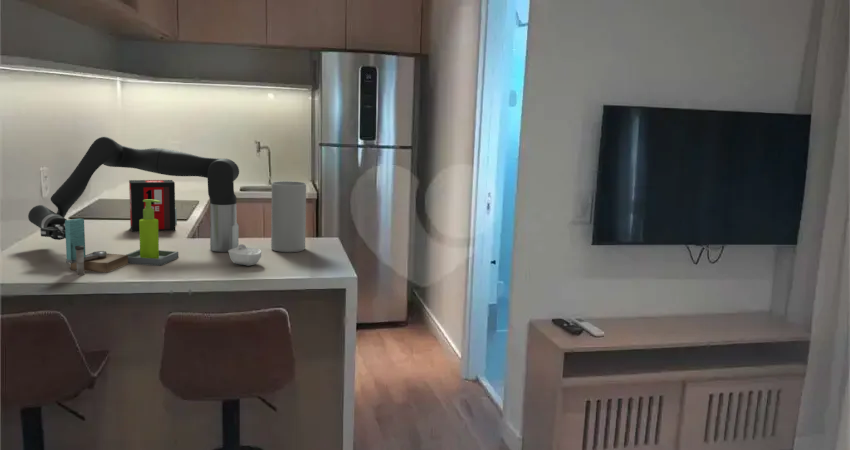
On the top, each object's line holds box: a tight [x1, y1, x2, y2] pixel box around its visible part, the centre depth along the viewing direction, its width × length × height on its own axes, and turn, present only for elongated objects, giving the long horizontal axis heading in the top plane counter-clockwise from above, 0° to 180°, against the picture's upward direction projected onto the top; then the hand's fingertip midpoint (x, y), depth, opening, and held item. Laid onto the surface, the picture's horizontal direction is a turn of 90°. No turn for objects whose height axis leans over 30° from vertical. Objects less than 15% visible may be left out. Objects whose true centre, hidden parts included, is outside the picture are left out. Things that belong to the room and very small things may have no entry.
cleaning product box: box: [128, 179, 176, 233], centre depth 279 cm, size 16×9×20 cm, turn 117°
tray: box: [125, 248, 179, 267], centre depth 228 cm, size 14×13×2 cm
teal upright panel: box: [65, 217, 108, 264], centre depth 210 cm, size 13×4×13 cm, turn 156°
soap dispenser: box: [139, 199, 161, 259], centre depth 226 cm, size 6×7×20 cm
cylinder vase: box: [270, 180, 307, 253], centre depth 252 cm, size 12×12×25 cm
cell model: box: [228, 243, 262, 267], centre depth 227 cm, size 10×12×7 cm
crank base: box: [69, 246, 129, 276], centre depth 213 cm, size 12×18×9 cm
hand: (68, 235), depth 212 cm, fingers closed
